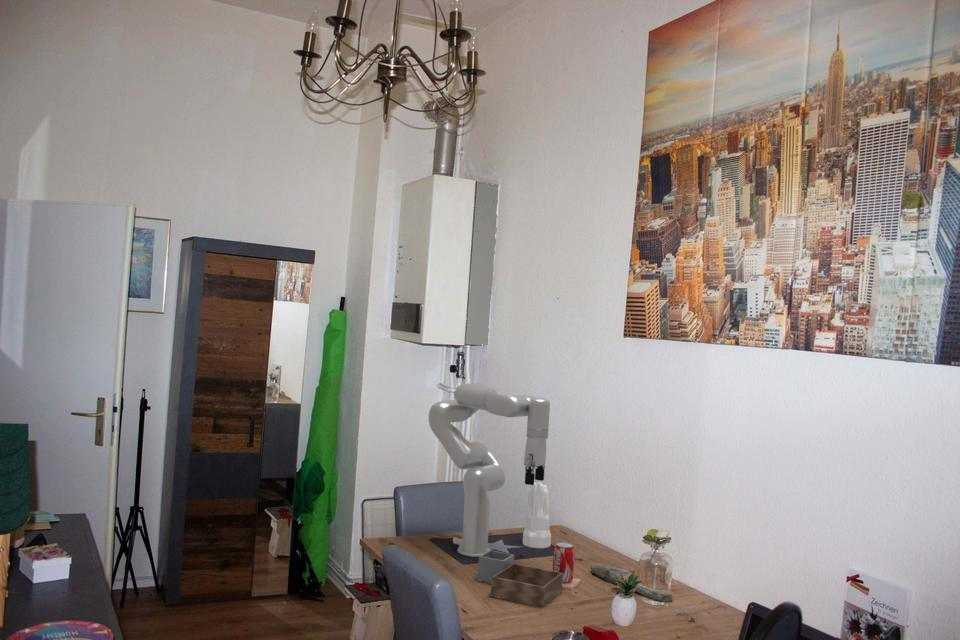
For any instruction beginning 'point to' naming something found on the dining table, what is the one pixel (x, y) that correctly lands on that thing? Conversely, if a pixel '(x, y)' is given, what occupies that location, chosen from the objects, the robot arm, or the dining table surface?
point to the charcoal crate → (493, 564)
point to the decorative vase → (537, 518)
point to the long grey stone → (614, 574)
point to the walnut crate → (527, 584)
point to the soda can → (564, 560)
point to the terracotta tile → (571, 584)
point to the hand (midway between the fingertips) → (534, 482)
